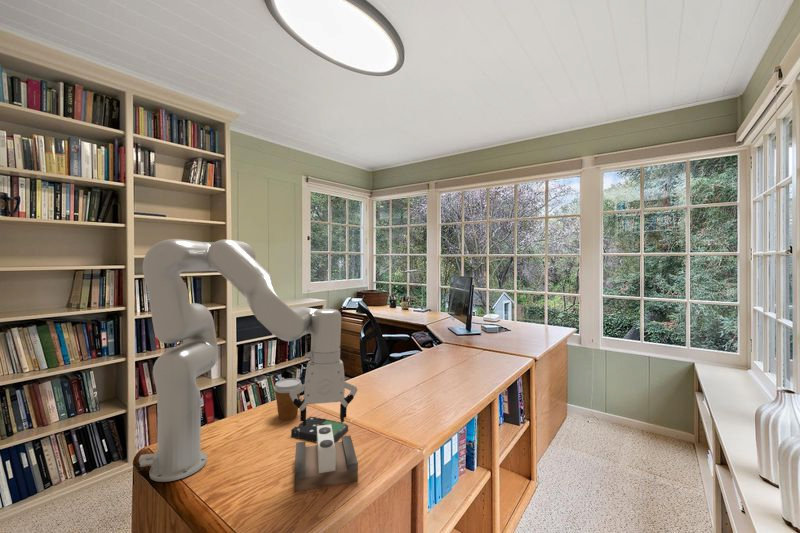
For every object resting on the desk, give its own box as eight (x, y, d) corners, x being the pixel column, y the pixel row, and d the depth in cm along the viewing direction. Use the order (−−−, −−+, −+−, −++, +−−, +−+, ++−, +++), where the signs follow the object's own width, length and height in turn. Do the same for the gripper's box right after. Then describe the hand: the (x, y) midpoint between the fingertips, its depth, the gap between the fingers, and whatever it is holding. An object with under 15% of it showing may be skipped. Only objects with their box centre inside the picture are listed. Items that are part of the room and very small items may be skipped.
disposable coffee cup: (277, 411, 122) (277, 378, 122) (304, 410, 123) (304, 377, 123) (270, 423, 112) (270, 387, 112) (299, 422, 113) (299, 386, 113)
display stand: (294, 491, 78) (294, 472, 78) (296, 458, 92) (296, 442, 92) (357, 481, 82) (357, 462, 82) (350, 450, 96) (350, 435, 96)
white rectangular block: (318, 473, 80) (318, 451, 80) (316, 443, 94) (316, 425, 94) (335, 470, 82) (335, 449, 82) (331, 441, 95) (331, 423, 95)
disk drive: (290, 438, 103) (331, 447, 98) (290, 429, 103) (331, 437, 98) (310, 424, 113) (348, 431, 108) (310, 415, 113) (348, 422, 108)
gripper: (290, 362, 81) (287, 432, 81) (360, 359, 86) (358, 425, 86) (291, 354, 88) (289, 418, 88) (356, 351, 93) (354, 412, 93)
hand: (323, 421), depth 87 cm, fingers open, 9 cm apart
